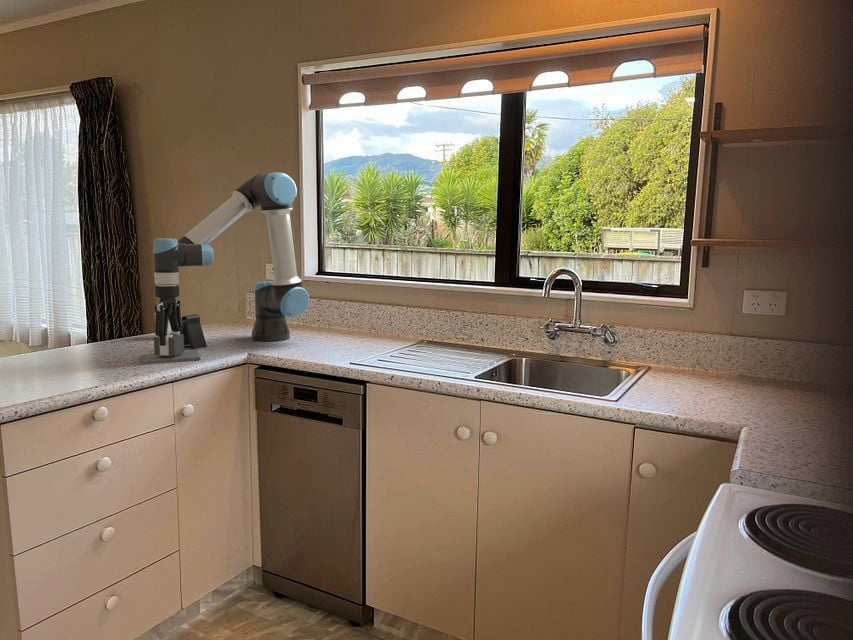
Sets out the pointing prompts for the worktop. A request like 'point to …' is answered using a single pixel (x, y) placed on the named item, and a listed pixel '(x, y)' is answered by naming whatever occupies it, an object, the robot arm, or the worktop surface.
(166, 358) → the panel
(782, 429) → the worktop surface
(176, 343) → the gray square frame
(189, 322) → the phone stand
